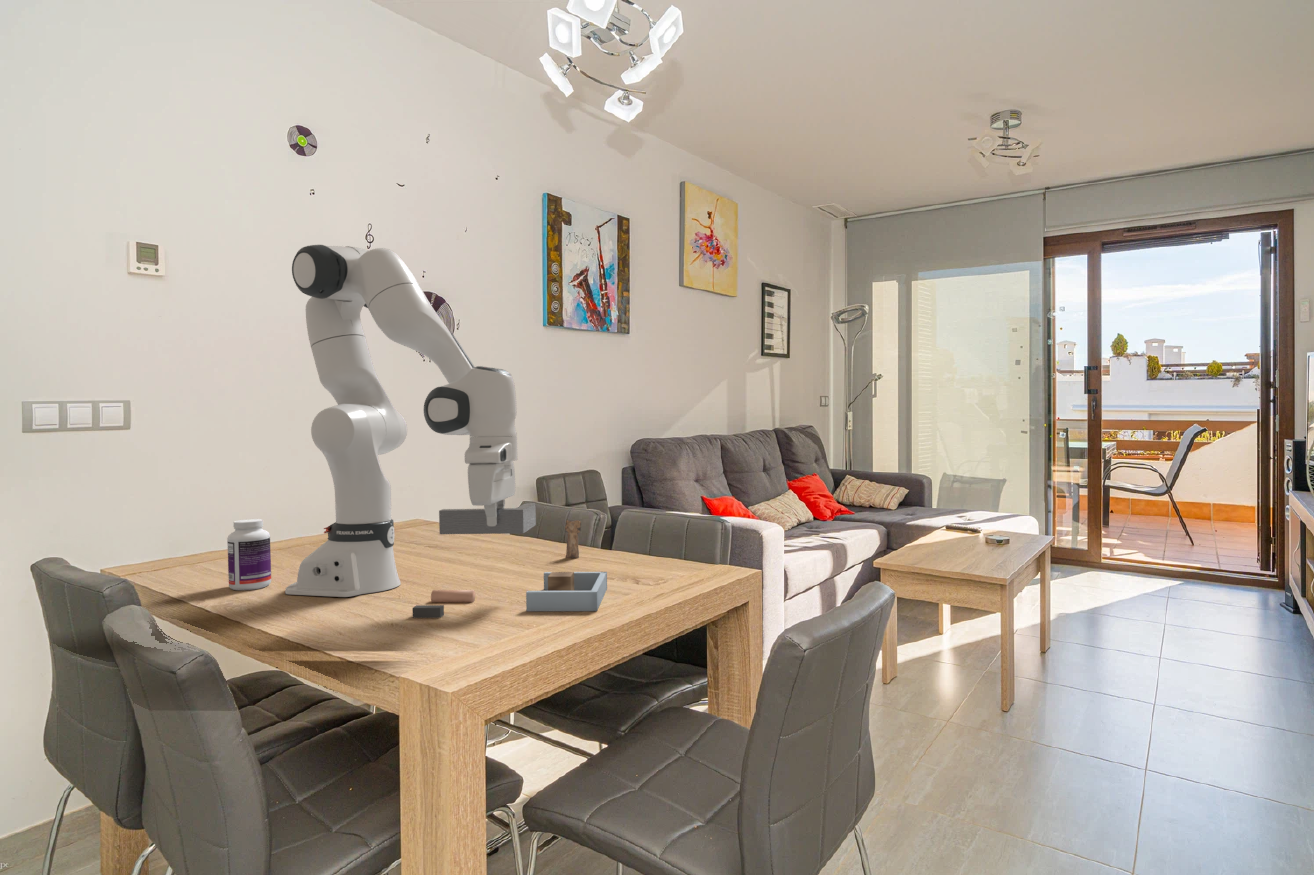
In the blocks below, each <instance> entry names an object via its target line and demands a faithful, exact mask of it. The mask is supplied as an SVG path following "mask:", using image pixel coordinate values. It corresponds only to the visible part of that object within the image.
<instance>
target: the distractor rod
mask: <svg viewBox="0 0 1314 875" xmlns="http://www.w3.org/2000/svg"><path fill="white" fill-rule="evenodd" d="M430 601H431V603H474V602H475V601H476V590H475V589H433V590H432V591H431V593H430Z"/></svg>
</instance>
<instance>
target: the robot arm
mask: <svg viewBox="0 0 1314 875" xmlns="http://www.w3.org/2000/svg"><path fill="white" fill-rule="evenodd" d="M291 275H292V278H293V281H294V284H295V286H296V287H297V289H298V290H299V291H300V292H301V293H303V294H305V295H307V296H309V297H310V298H309V299H308V300H307V302H306V304H305V322H306V323H305V324H306V328H307V336H308V341H309V346H310V348H311V353H312V356H313V359H314V360H313V361H314V363H315V367H316V368H315V369H316V370H317V375H318V379H319V381H320V383H321V385H322V387H323V388H324V389H325V390H327V391H328V393H330V394H331V396H332V397H333V399H334V400H335V402H336V404H337V405H331V406H329V407H327V408H324V409H322V410H321V411H320V412H318V413H317V414H316V415H315V417H314V419H313V420H312V423H311V427H310V428H311V429H310V432H311V438H312V441H313V443H314V445H315V446H316V447H317V449H318V450H320V451H321V453H322V454H323V455H324V457H325V459H326V462H327V464H328V467H329V468H328V469H329V471H330V474H331V477H332V482H333V487H334V488H333V489H334V502H335V503H334V505H335V506H334V508H335V522H333V523H331V524H330V525H328V526H327V527H323V530H325V531H323V534H327V540H326V541H325V542H324V543H323V544H321V545H320V546H319V547H317V548H316V549H315V550H314V551H312V552H311V553H310V554H309V555H308V556H306V557H305V558H304V559H303V560H302V561H301V562H300V564H299V567H298V571H297V579H296V581H295V582H293V583H290V584H289V585H288V586H286V588H285V593H284V594H285V595H296V596H313V597H314V596H317V597H338V598H348V597H349V598H350V597H354V596H355V597H356V596H359V595H364V594H372V593H373V594H374V593H378V592H384V591H387V590H392V589H395V588H397V587H399V586H400V585H401V584H402V583H401V579H400V577H399V574H398V571H397V566H396V565H397V564H396V560H395V552H394V545H395V526H394V525H395V524H394V519H392V486H391V483H390V481H389V479H388V478H387V477H386V476H385V474H384V471H383V469H382V467H381V464H380V460H379V456H380V455H386V454H388V453H390V452H392V451H394V450H396V449H398V448H399V447H400V446H401V445H402V444H403V443H404V442H405V441H406V439H407V435H408V424H407V422H406V419H405V418H404V416H403V415H402V414H401V413H400V412H399V411H398V410H397V409H396V407H395V406H394V404H393V403H392V402H391V400H390V398H389V396H388V394H387V392H386V390H385V389H384V386H383V385H382V383H381V381H380V379H379V377H378V375H377V372H376V369H375V366H374V363H373V359H372V356H371V352H370V349H369V346H368V341H367V338H366V334H365V330H364V328H363V325H362V321H361V313H362V310H363V307H365V308H366V309H368V311H369V313H370V314H371V317H372V319H373V321H374V322H375V324H376V326H377V327H378V328H379V330H381V332H382V333H383V334H384V335H385V336H386V337H387V338H388V339H389V340H390V341H392V342H394V343H396V344H398V345H402V346H404V347H407V348H408V349H410V350H411V349H412V350H414V351H416V352H418V353H420V354H421V355H423V356H425V357H427V358H428V359H429V360H431V361H432V362H433V363H434V364H435V365H436V366H437V367H438V369H439V371H440V372H441V373H442V375H443V377H444V378H445V379H446V381H447V384H444V385H441V386H436V387H435V388H433V389H432V390H430V392H429V393H428V394H427V396H426V398H425V400H424V402H423V403H424V404H423V416H424V420H425V422H426V424H427V425H428V427H429V428H430V430H432V431H433V432H435V433H437V434H441V435H444V436H469V445H468V448H467V449H466V450H465V452H464V463H465V464H467V465H468V466H467V484H468V494H469V500H470V503H471V505H472V506H475V507H476V506H477V507H479V506H483V509H484V510H485V513H486V517H487V526H496V525H497V524H498V516H497V509H499V508H505V507H506V499H508V498H510V497H513V496H515V494H516V473H515V463H514V461H518V431H517V429H516V426H515V424H516V422H515V421H516V417H517V409H518V408H517V393H516V386H515V380H514V378H513V376H512V374H511V373H510V372H509V371H507V370H506V369H502V368H497V367H488V366H483V365H482V366H481V365H480V366H479V365H478V366H475V365H474V364H473V362H472V361H471V359H470V358H469V356H468V354H467V353H466V351H465V350H464V348H463V346H462V345H461V343H459V340H458V339H457V338H456V337H455V335H454V334H453V333H452V331H451V330H450V329H449V328H448V327H447V326H446V324H445V322H444V321H443V319H442V318H441V317H440V316H439V315H438V313H437V312H436V310H435V309H434V307H433V306H432V304H431V302H430V301H429V299H428V298H427V296H426V294H425V292H424V290H423V289H422V287H421V285H420V283H419V281H418V280H417V278H416V277H415V275H414V274H413V272H412V270H411V269H410V268H409V267H408V265H407V264H406V262H404V260H403V259H402V258H401V257H400V256H399V254H398V253H397V252H395V251H394V250H392V249H389V248H385V247H377V248H373V249H370V250H369V249H365V248H362V247H361V248H360V247H355V246H350V245H349V246H348V245H347V246H343V245H342V246H340V245H324V244H311V245H306V246H303V247H301V248H300V249H299V250H298V251H297V252H296V254H295V255H294V258H293V261H292V264H291Z"/></svg>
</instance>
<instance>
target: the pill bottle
mask: <svg viewBox="0 0 1314 875" xmlns="http://www.w3.org/2000/svg"><path fill="white" fill-rule="evenodd" d="M263 527H264V519H261V518H252V519H251V518H250V519H247V518H246V519H240V520H234V521H233V529H234V531H233V532H231V533H230V534H229V535H228V537H226V540H227V570H228V571H227V572H228V575H227V576H228V587H229V588H230V590H234V591H252V590H259V589H263V588H266V587H268V586H269V585H270V584H271V582H272V561H271V560H272V558H271V557H272V556H271V555H272V554H271V535H270V532H269V531H267V530H266V529H263Z"/></svg>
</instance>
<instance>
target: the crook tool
mask: <svg viewBox="0 0 1314 875" xmlns="http://www.w3.org/2000/svg"><path fill="white" fill-rule="evenodd" d="M536 507H537V506H536V502H527V503H523V504H521V505H519V506H517V507H514V508H511V507H510V508H509V507H508V508H507V507H506V508H505V507H504V508H499V509H497V516H498V524H497V525H496V526H487V517H486V513H485V510H484V508H443V509H440V510H438V516H439V517H438V518H439V520H438V522H439V523H438V526H439V527H438V528H439V535H495V534H496V535H497V534H498V535H499V534H500V535H501V534H502V535H503V534H504V535H506V534H512V535H513V534H525V533H527V531H529V530H532V529H533V528H534V527H535V526H537V514H536V513H537V512H536V511H537V510H536Z"/></svg>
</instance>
